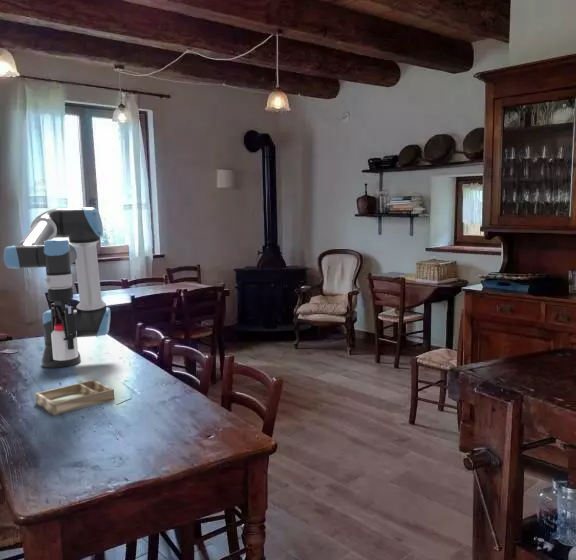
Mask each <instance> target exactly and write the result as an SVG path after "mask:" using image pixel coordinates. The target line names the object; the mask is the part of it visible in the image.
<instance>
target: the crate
mask: <svg viewBox="0 0 576 560" xmlns="http://www.w3.org/2000/svg"><path fill="white" fill-rule="evenodd" d="M34 396H35V404H36V405H38V406H40V407H41V408H42V409H43V410H45V411H46V412H48V413H50V414H51V415H52V416H57V415H61V414H65V413H68V412H69V413H70V412H72V411H76V410H77V411H78V410H81V409H83V408H84V409H85V408H88V407H91V406H96V405H98V404H99V405H100V404H103V403H107V402H110V401H115V399H116V398H115V389H114V388H112V387H110V386H109V385H108V386H107V385H106V384H104V383H102V382H100V381H97V380H95V379H91V380H86V381H81V382H76V383H73V384H70V385H65V386H61V387H57V388H52V389H47V390H43V391H40V392H39V391H38V392H36V393H35V394H34Z"/></svg>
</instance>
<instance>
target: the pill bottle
mask: <svg viewBox="0 0 576 560" xmlns="http://www.w3.org/2000/svg"><path fill="white" fill-rule="evenodd" d="M76 335H77V332H76ZM64 338H65V334H64V329H63V325H62V323H59V324H55V325H54V331H53V332H52V333H51V340H52V351H53V359H54V360H59V361H61V360H66V353H65V341H64V340H63V339H64ZM78 344H79V343H78V337H76V338H74V348H75V358H77V357H78V352H79V346H78ZM69 360H70V359H69Z"/></svg>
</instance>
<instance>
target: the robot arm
mask: <svg viewBox="0 0 576 560" xmlns="http://www.w3.org/2000/svg"><path fill="white" fill-rule="evenodd" d="M29 228H30V229H29V230H28V231H27V232H26V234H25V235H24V237H23V238H22V239H21V241H20V242H19V243H18V244H17V245H9V246H6V247H4V250H3V262H4V265H5V267H6V268H8V269H17V270H19V269H35V268H36V269H37V268H45V272H46V278H45V279H44V280H45V282H46V285H47V288H48V289H47V298H48V300H49V301H50V302H53V303H50V309H49V310H46V311H45V312H43V313H42V323H41V324H42V326H43V327H42V328H43V337H44V338H43V339H44V340H43V341H44V350H43V353H42V357H41V366H42V367H43V368H49V369H51V368H52V369H54V368H65V367H69V366H70V367H71V366H74V365H77V364H79V363H80V362H81V354H80V351H78V357H77V358H75V348H74V338H76V337H77V338H87V337H88V338H89V337H97V338H98V337H102V336H106V335H107V334H108V333H109V332H110V326H111V325H110V324H111V308H110V307H107V303H106V301H104V300H102V290H101V282H100V281H101V280H100V270H99V262H98V261H99V260H98V251H97V250H98V249H97V244H98V243H99V242H100V237H103V236H104V228H103V222H102V218H101V214H100V212H99V210H98V209H97V208H95V207H87V206H82V207H79V206H78V207H63V208H61V207H58V208H53V209H49V210H46V211H44V212H42V213H41V214H40V215H38V216H36V217H35V218H34V219H33V220H32V221H31V223H30V227H29ZM55 238H57V239H55ZM58 238H60V239H58ZM61 238H62V239H61ZM64 238H65V239H64ZM66 238H68V239H66ZM73 264H75V269H76V279H77V288H78V295H79V303H78V304H77V305H76V309H74V306H71V305H70V302H69V301H70V300H72V299H73V298H74V288H73V287H72V286H73V275H72V265H73ZM59 323H62V325H63V329H64V334H65V338H64V339H63V340H64V341H65V353H66V360H61V361H59V360H54V359H53V351H52V340H51V333H52V332H53V331H54V325H55V324H59ZM76 332H77V335H76ZM69 359H70V360H69Z"/></svg>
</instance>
